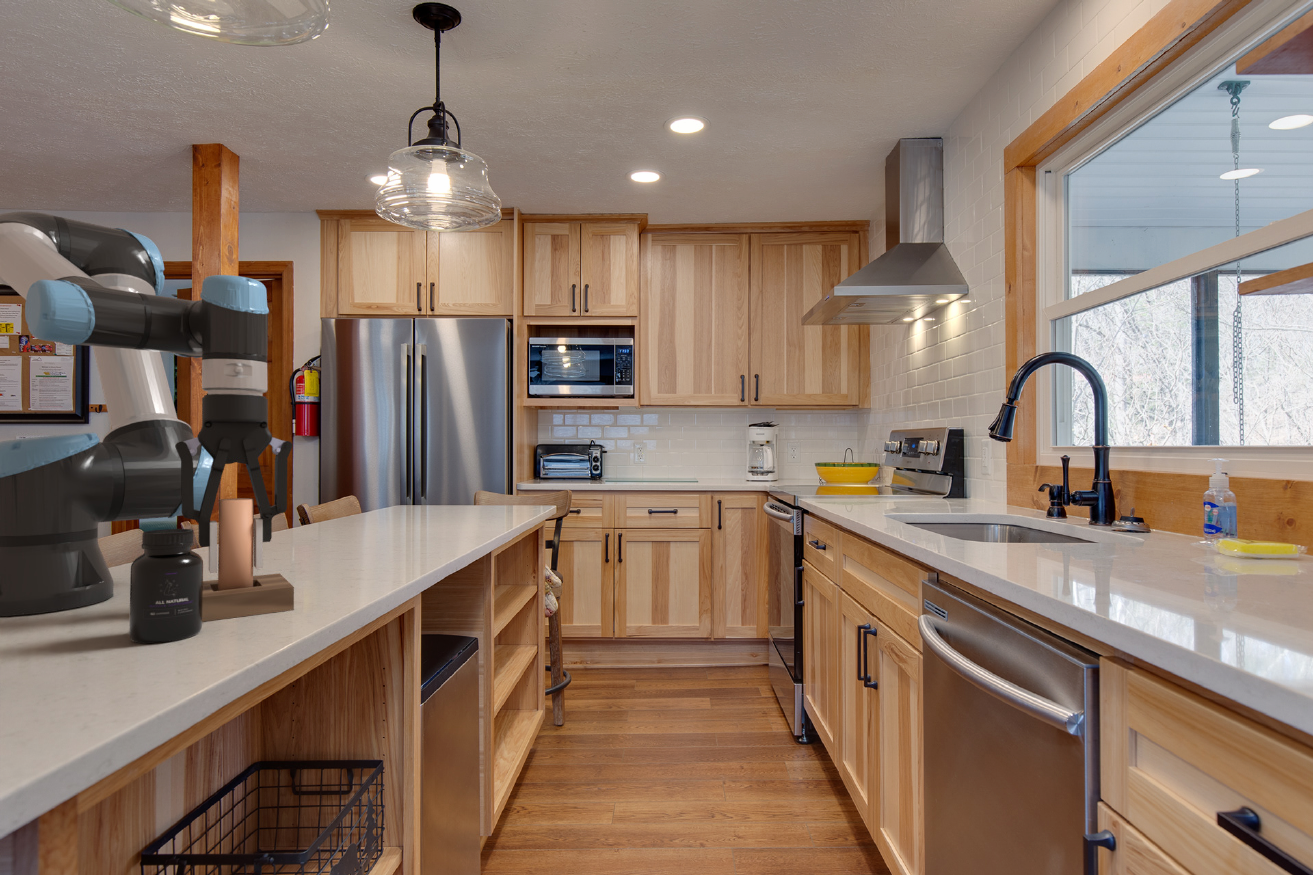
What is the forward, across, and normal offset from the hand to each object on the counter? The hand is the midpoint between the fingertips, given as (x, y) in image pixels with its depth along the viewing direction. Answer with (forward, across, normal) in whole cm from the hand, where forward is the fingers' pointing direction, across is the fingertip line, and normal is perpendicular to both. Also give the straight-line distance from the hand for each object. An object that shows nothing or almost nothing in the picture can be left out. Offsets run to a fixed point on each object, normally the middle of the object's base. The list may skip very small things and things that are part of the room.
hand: (235, 568), depth 93 cm
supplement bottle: (+5, -8, -11) cm, 15 cm away
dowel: (+5, 0, 0) cm, 5 cm away
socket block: (+5, 0, 0) cm, 5 cm away
